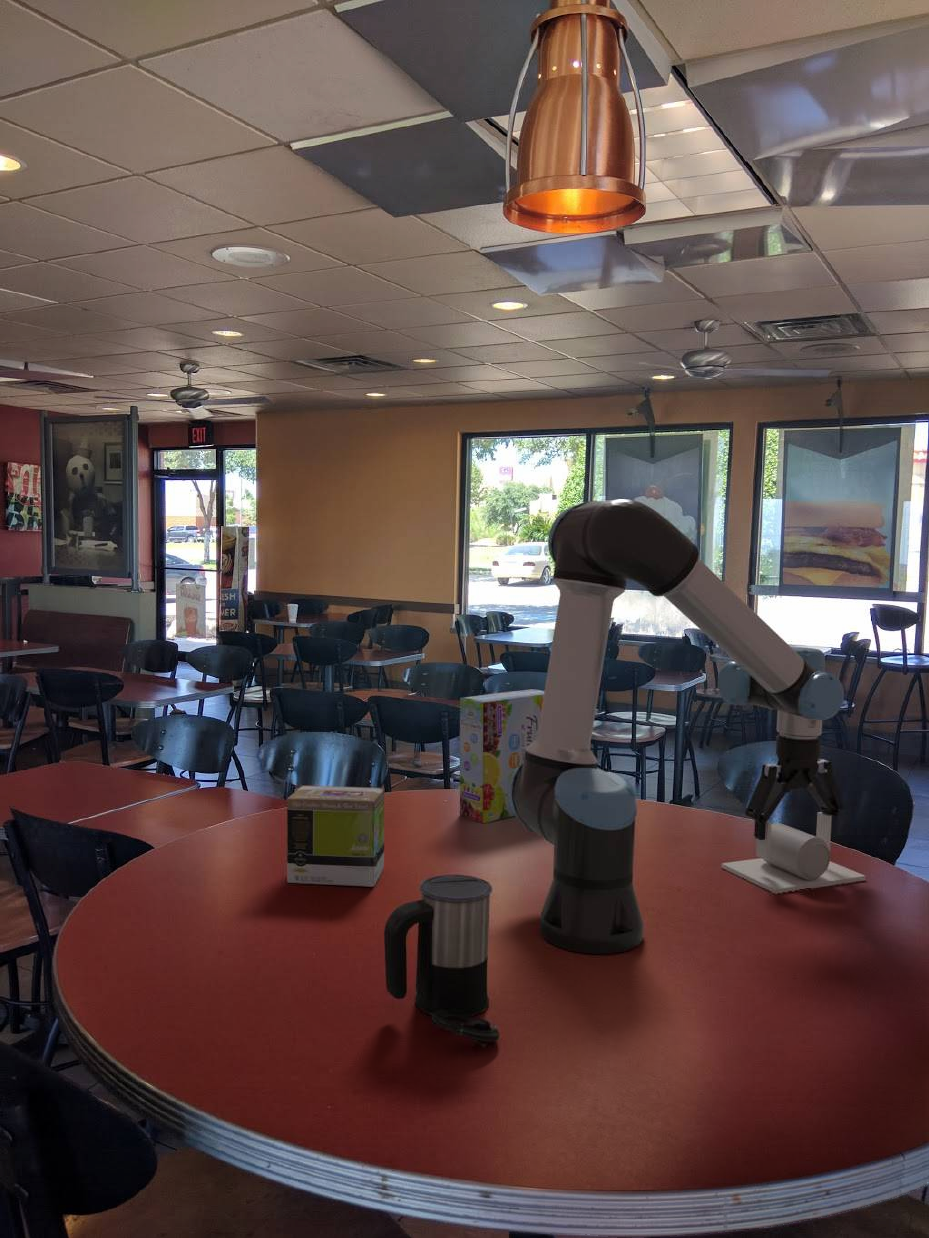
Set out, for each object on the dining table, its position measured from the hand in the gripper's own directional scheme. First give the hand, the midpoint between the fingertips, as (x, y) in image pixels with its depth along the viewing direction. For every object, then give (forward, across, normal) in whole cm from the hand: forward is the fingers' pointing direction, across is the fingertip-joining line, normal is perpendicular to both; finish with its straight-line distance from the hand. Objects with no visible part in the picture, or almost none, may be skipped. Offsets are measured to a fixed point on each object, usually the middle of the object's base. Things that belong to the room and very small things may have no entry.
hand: (793, 853), depth 168 cm
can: (-1, -1, -7) cm, 7 cm away
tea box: (+4, -76, +26) cm, 81 cm away
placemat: (+4, 0, 0) cm, 4 cm away
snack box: (+4, -31, +53) cm, 62 cm away
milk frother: (+4, -76, -28) cm, 81 cm away
